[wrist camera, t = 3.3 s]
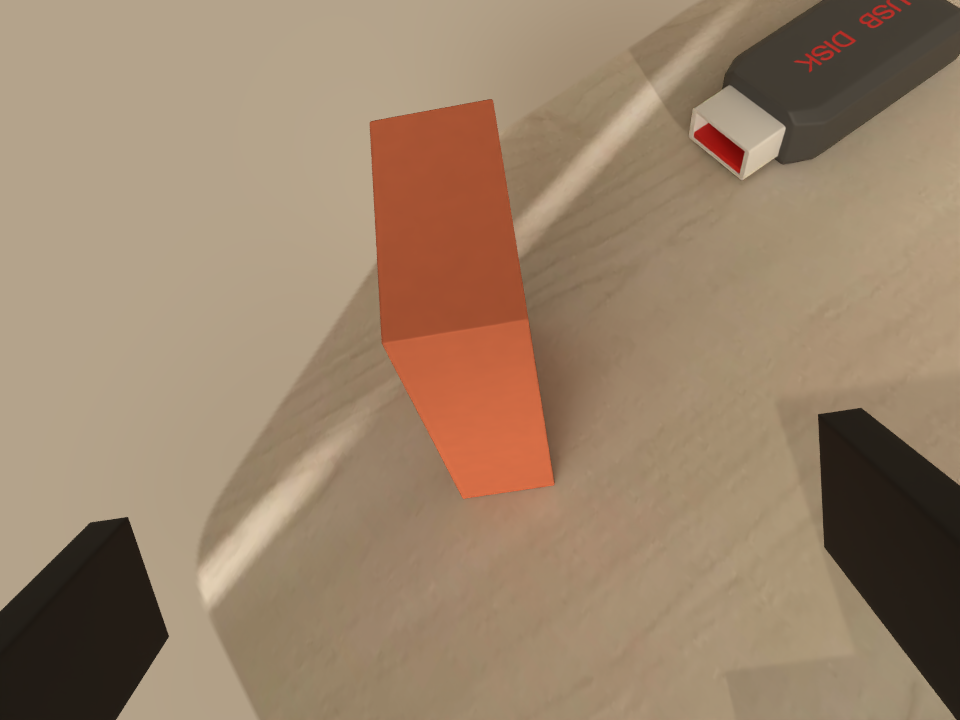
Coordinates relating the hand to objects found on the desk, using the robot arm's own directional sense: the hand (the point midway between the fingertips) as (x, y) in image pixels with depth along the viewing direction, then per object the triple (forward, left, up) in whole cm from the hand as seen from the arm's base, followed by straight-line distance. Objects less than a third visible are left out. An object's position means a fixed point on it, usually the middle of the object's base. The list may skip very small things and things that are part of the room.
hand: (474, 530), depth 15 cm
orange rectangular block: (+4, +7, -13) cm, 15 cm away
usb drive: (+24, +11, -13) cm, 29 cm away
